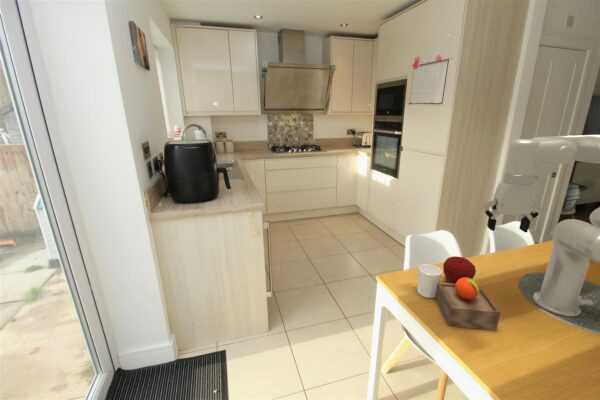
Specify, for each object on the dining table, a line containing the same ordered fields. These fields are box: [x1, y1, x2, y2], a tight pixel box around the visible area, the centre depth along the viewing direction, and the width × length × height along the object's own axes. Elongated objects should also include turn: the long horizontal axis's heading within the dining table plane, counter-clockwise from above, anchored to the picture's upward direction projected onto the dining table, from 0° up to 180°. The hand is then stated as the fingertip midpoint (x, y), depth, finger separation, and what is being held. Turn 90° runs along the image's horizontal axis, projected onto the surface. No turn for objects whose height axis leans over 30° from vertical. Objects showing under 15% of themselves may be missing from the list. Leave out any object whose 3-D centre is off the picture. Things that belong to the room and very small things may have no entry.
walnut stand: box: [434, 282, 501, 332], centre depth 93 cm, size 14×14×7 cm
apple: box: [442, 256, 477, 284], centre depth 109 cm, size 11×11×12 cm
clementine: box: [455, 277, 480, 299], centre depth 92 cm, size 8×7×7 cm
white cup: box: [416, 263, 443, 299], centre depth 104 cm, size 8×8×10 cm
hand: (506, 229), depth 92 cm, fingers open, 9 cm apart
